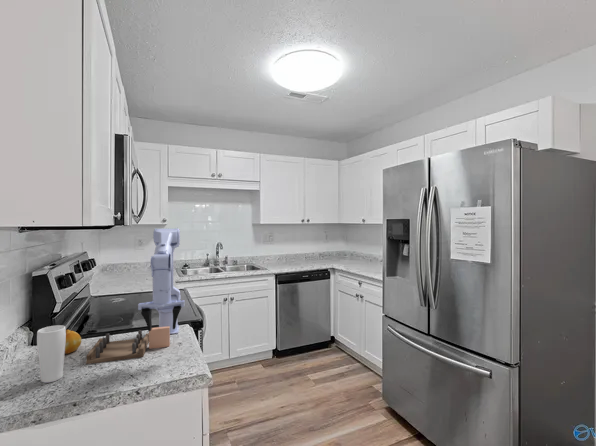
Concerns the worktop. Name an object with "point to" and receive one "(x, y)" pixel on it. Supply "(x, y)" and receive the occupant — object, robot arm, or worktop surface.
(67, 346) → the fruit
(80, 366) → the worktop surface
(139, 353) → the rack
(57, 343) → the drinking glass
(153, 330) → the pink square slab
